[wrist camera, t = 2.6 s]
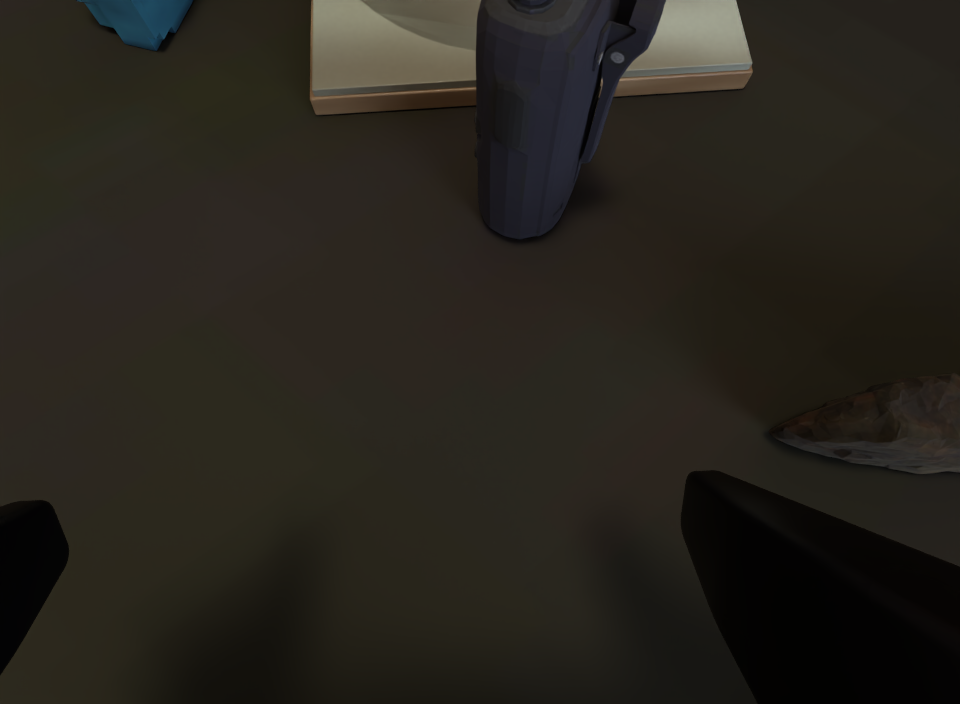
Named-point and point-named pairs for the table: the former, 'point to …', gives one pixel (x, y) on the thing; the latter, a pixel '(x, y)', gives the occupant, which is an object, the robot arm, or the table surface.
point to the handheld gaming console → (140, 19)
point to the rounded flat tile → (452, 53)
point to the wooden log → (886, 426)
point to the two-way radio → (547, 99)
